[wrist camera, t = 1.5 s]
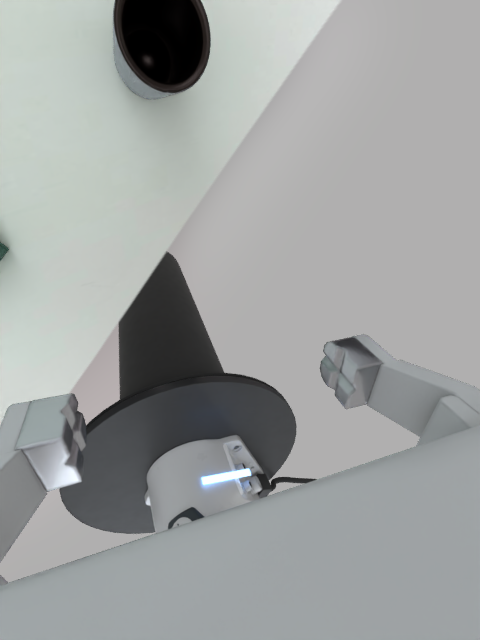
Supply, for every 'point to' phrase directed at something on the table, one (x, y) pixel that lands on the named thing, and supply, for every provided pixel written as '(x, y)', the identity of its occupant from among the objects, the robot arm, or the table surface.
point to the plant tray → (3, 250)
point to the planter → (160, 45)
